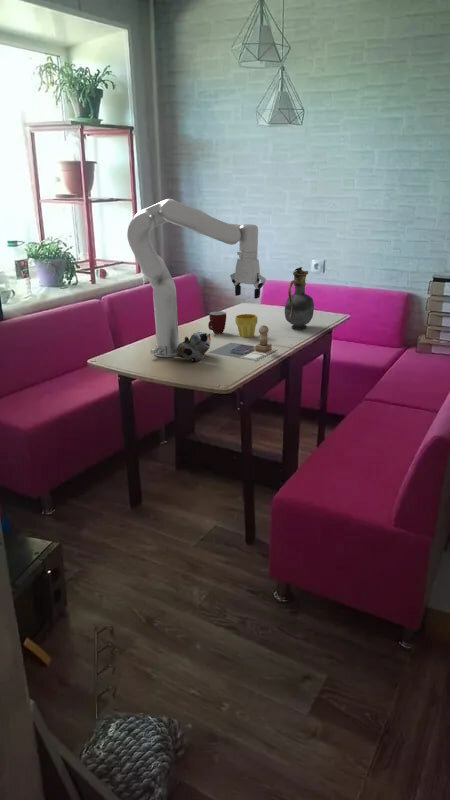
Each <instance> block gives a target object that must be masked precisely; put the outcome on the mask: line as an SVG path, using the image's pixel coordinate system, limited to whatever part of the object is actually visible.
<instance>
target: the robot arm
mask: <svg viewBox="0 0 450 800" xmlns="http://www.w3.org/2000/svg"><path fill="white" fill-rule="evenodd" d="M166 223H171V224H173V225H176V226H179V227H182V228H184V229H187V230H189V231H192V232H195V233H196V234H200V235H202V236H205V237H208V238H210V239H213V240H216V241H218V242H221V243H224V244H227V245H230V246H231V245H233V246H234V245H236V244H237V243H239V244H238V245H239V248H238V249H239V250H238V251H237V256H238V257H239V258H238V257H237V259H236V262H235V263H236V264H235V271H234V273H232V274H230V275H229V276H230V280H231V282H232V284H233V286H234V295H235V296H236V297H238V296H241V294H242V292H241V291H242V287H241V284H245V285H246V284H247V285H253V286H254V287H255V288H254V293H253V294H254V295H253V296H254V297H253V298H254V299H259V298H260V296H261V289H262V287H264V285H265V283H266V281H267V279H266V277H264V276H263V275H261V271H260V270H261V269H260V267H261V266H260V261H259V259H258V247H259V246H258V245H259V244H258V243H259V236H258V235H259V227H258V225H256V224H249V223H248V224H247V223H246V224H235V223H228V222H225V221H222V220H220V219H217V218H216V217H212V216H211V215H209V214H208V213H206V212H205V211H202V210H200V209H198V208H194V207H192V206H189V205H186V204H184V203H181V202H179V201H176V200H175V199H172V198H166V199H164V200H161V201H160V202H157V203H155V204H153V205H150V206H147V207H146V208H143V209H142V210H141V209H140V210H139V211H138V212H136V214H134V216H133V217H132V219H131V221H130V222H129V225H128V227H127V233H126V234H127V235H126V237H127V241H128V244H129V247H130V248H131V251H132V253H133V255H134V257H135V259H136V261H137V264H138V265H139V267H140V271H141V273H142V274H143V276H144V277H145V278H147V280H148V282H149V284H150V285H151V288H152V299H153V300H152V301H153V309H154V323H155V338H156V339H155V340H156V344H155V348H153V349H150V351H149V352H150V354H151V355H154V356H156V357H159V358H174V357H176V356H179V355H180V354H177V353H176V352H174V350H176V349H177V347H178V345H179V344H180V341H179V323H178V306H177V305H178V303H177V288H176V287H177V286H176V284H175V281H174V279H173V278H172V275H171V273H170V271H169V269H168V267H167V265H166V263H165V261H164V259H163V258H162V257H161V256H160V255H159V254H158V253H157V252H156V250H155V248H154V247H155V246H154V245H153V243H152V241H151V239H150V236H149V235H150V232H151V231H152V230H153V229H155V228H157V227H160V226H162V225H164V224H166Z"/></svg>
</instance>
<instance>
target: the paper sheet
mask: <svg viewBox="0 0 450 800" xmlns="http://www.w3.org/2000/svg"><path fill="white" fill-rule="evenodd" d="M275 350H276V351H277V349H276V348H275V349H274V348H272V350H270V351H268V352H266V353H264V352H258V351H256V350H254V351H251V352H249V353H247V354H245V355H243V356H241V357H240V358H239V359H242V358H245V359H244V360H248V359H251V360H250V361H254V360H256V361H258V360H260V359H262V358H264V357H266V356H268V355H270V354H272V353H274V352H275ZM273 351H274V352H273ZM271 352H272V353H271ZM269 353H270V354H269ZM267 354H268V355H267ZM265 355H266V356H265ZM263 356H264V357H263ZM261 357H262V358H261ZM259 358H260V359H259ZM257 359H258V360H257Z"/></svg>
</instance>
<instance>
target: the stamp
mask: <svg viewBox="0 0 450 800" xmlns="http://www.w3.org/2000/svg"><path fill="white" fill-rule="evenodd" d="M258 332H259V344H256V345H255V346H256V351H258V352H264V353H266V352H268V351H270V350H272V349H273V348H272V347H273V345H272V343H268V334H269V327H268V326H267V325H265V324H263V325H261V326H259V328H258Z"/></svg>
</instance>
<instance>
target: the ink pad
mask: <svg viewBox="0 0 450 800" xmlns="http://www.w3.org/2000/svg"><path fill="white" fill-rule="evenodd" d="M240 344H241V345H239V346H237V347H235V348H232V349H230V353H235V354H241V355H245V354H247V353H249V352H251V351H253V350H255V346H256V345H250V346H249V344H244V345H243V343H240Z"/></svg>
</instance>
